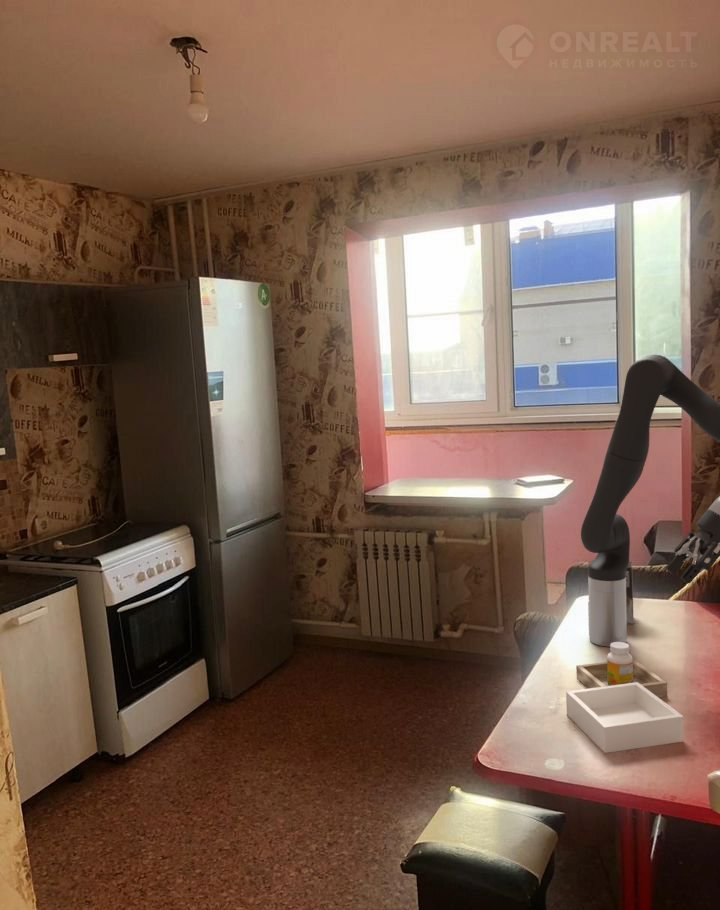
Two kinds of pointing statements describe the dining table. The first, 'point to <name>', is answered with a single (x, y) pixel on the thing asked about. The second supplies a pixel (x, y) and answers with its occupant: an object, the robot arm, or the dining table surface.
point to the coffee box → (629, 595)
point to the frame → (652, 681)
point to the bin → (624, 717)
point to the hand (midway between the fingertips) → (677, 576)
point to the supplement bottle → (619, 664)
